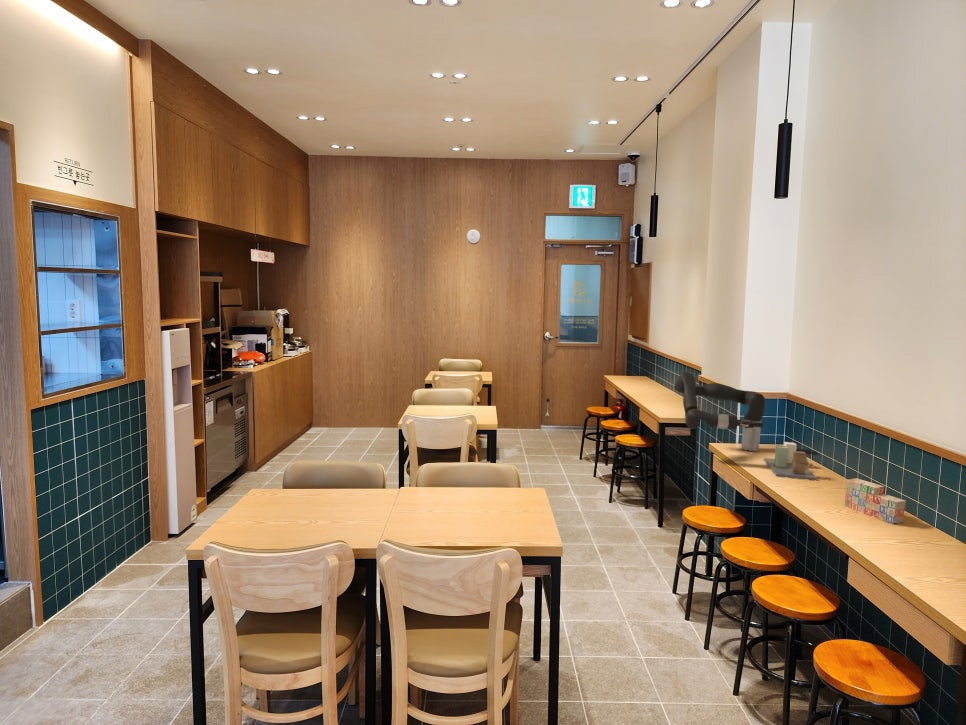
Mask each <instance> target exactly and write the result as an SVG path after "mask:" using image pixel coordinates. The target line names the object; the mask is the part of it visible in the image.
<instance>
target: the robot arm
mask: <svg viewBox="0 0 966 725" xmlns="http://www.w3.org/2000/svg"><path fill="white" fill-rule="evenodd" d="M696 381H697V380H696V377H695V376H694V374H692V373H690V372H688V371H684V372H683V371H682V372H681V373H680V375H678V378H677V379H676V382H675V383H674V386H673V388H674V389H675V390H676V391H677V392H679V393H681V394H683V397H682V399H683V400H682V404H683V410H684V420H685V425H686V426H687V428H688V429H692V430H696V429H697V428H699V427H700V423H701V420H702V421H704V424H705V426H706V427H707V428H714V429H715V428H716V429H720V430H721V429H722V430H732V431H736V430H737V427H739V428H742V436H741V448H742V450H743V449H744V451H747V450H749V451H748V452H759V449H760V441H761V440H760V438H761V428H763V426H764V423H763V422H762V419H763V417H764V413H765V407H766V398H765V396H764V395H763V394H762V393H760V392H757V391H752V390H745V389H744V390H743V389H737V388H735V387H732V386H730V385H726V384H723V383H718V382H713V383H707V384H704V385H696ZM697 396H699V397H705V398H709V399H711V400H712V399H713V400H716V401H719V402H720V401H721V402H733V403H738V404H741V405H744V406H746V407H748V410H747V413H745V414H744V416H743V418H740V419H738V415H735V414H727V413H726V414H724V413H722V414H721V413H710V412H706V411H703V410H701V409H699V405H698V402H697Z"/></svg>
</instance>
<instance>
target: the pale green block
mask: <svg viewBox="0 0 966 725" xmlns="http://www.w3.org/2000/svg"><path fill="white" fill-rule="evenodd" d="M788 452H789V448H788V447H787V446H784V445H780V444H779V445H777V444H775V450H774V459H775V460H774V465H775V466H776V467H785V468H787V461H788Z"/></svg>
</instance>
